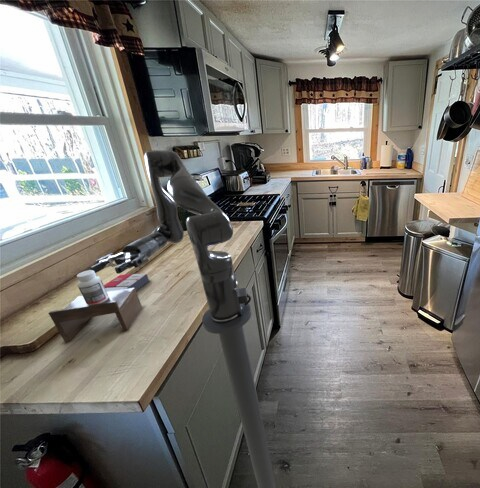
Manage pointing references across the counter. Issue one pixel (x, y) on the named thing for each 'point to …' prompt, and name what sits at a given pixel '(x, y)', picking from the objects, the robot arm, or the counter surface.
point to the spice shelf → (97, 312)
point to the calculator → (126, 282)
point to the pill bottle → (91, 288)
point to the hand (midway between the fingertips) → (104, 271)
